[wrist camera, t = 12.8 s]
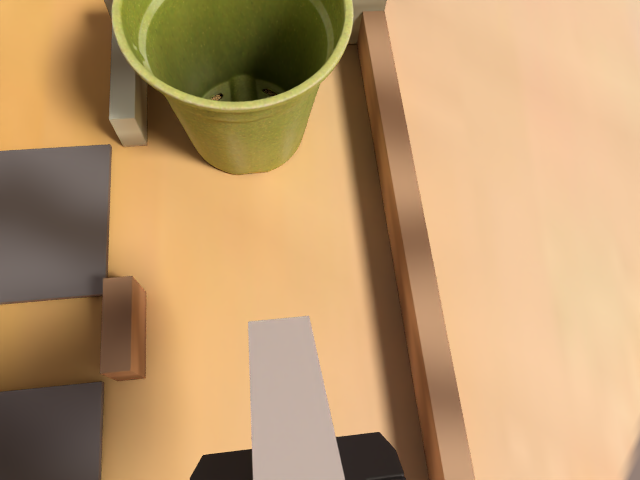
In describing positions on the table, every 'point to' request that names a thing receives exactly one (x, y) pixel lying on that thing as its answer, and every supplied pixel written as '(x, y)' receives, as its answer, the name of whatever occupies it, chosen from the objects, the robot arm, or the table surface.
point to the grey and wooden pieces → (130, 298)
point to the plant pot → (236, 69)
